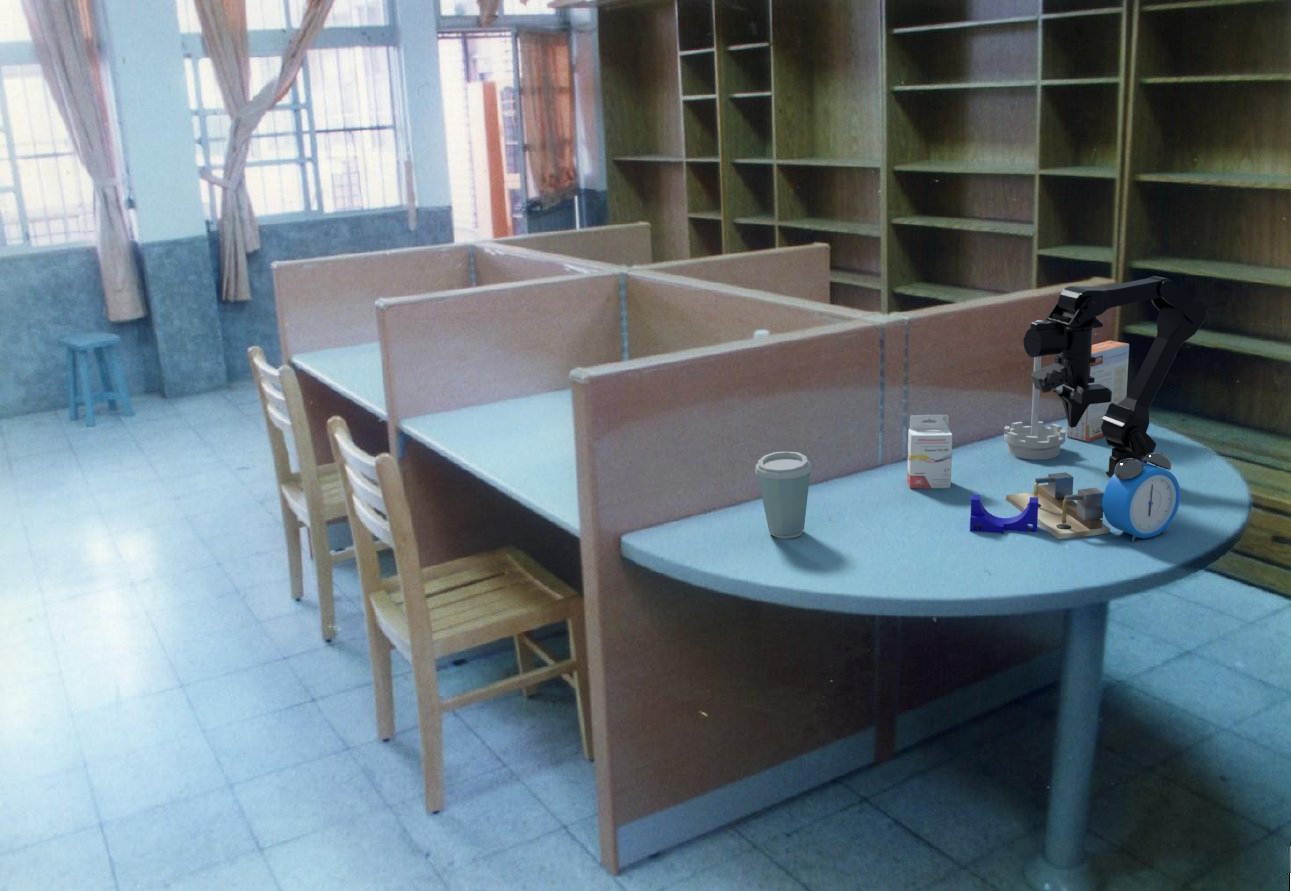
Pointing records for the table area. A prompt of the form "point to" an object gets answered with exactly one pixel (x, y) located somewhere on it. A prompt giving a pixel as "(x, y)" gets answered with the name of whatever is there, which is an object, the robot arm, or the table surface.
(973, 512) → the blue cradle bracket
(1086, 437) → the cracker box
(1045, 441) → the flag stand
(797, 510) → the disposable coffee cup
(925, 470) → the ink cartridge box
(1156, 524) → the alarm clock
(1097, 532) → the hole plate
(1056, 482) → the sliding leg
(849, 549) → the table surface
